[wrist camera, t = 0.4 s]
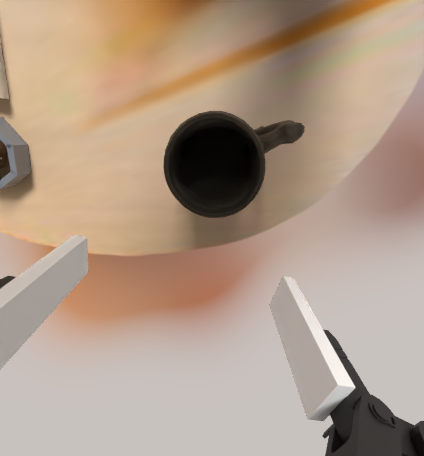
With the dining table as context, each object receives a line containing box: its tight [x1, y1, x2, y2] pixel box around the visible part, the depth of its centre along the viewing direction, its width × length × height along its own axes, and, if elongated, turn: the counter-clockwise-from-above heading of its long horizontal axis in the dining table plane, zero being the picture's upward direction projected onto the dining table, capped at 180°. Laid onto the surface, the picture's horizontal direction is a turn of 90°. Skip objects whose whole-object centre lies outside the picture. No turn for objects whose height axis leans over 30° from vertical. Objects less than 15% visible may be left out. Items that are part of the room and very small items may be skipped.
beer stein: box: [164, 111, 305, 218], centre depth 27 cm, size 15×11×20 cm
